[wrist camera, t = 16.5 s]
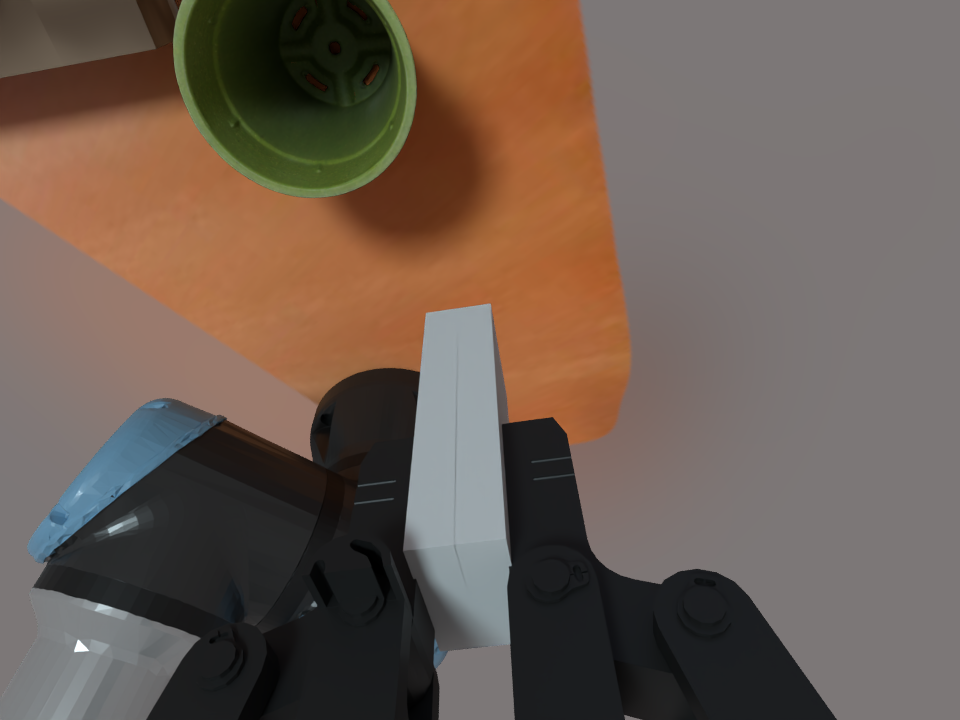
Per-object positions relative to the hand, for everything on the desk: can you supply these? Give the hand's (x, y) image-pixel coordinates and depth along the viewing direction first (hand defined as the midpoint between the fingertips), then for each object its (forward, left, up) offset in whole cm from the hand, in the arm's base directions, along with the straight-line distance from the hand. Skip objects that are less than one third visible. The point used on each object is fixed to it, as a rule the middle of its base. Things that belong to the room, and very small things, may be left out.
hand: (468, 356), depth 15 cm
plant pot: (+3, +8, -33) cm, 34 cm away
